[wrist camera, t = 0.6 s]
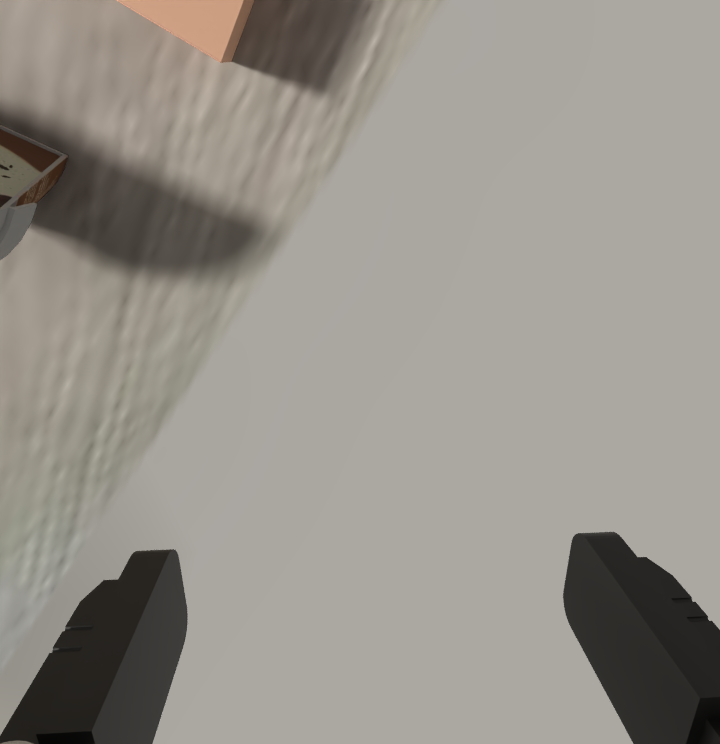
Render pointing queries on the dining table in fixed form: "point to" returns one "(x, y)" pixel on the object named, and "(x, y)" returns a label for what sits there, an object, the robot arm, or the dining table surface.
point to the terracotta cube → (199, 22)
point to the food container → (23, 183)
